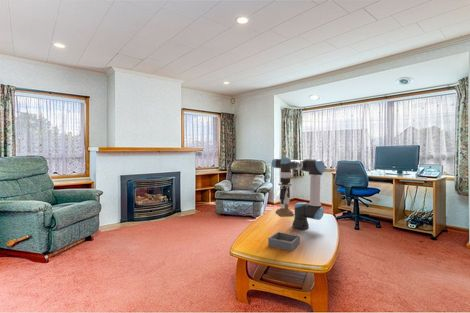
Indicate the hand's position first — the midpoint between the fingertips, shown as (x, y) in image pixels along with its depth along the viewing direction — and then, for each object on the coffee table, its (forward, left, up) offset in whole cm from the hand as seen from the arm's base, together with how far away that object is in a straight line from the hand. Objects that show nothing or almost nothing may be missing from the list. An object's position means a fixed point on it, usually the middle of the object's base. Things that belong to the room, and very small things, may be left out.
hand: (284, 207), depth 194 cm
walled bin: (0, 0, -29) cm, 29 cm away
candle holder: (0, 0, -6) cm, 6 cm away
